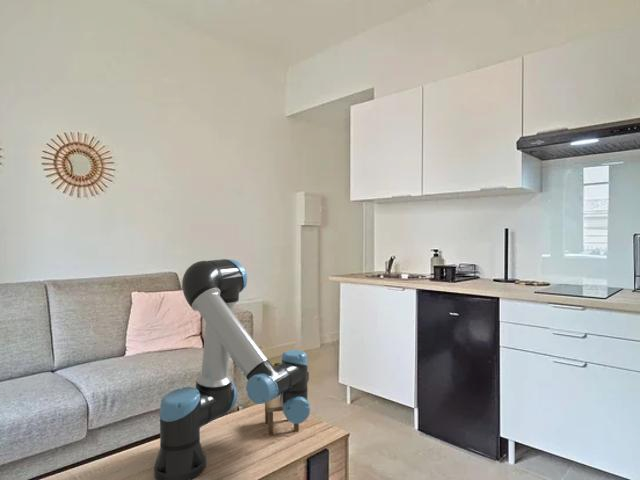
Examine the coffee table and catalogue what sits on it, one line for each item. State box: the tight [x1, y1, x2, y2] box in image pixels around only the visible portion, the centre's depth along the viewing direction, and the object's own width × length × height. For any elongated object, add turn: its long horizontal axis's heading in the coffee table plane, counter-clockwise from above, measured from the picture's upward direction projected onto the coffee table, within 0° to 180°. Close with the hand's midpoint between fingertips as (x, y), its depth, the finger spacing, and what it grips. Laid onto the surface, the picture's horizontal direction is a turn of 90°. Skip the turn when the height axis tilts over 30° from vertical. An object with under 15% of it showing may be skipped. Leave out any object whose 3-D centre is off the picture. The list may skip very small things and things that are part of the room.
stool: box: [264, 396, 300, 436], centre depth 155 cm, size 12×12×10 cm
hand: (281, 370), depth 152 cm, fingers closed on flower pot, 11 cm apart
